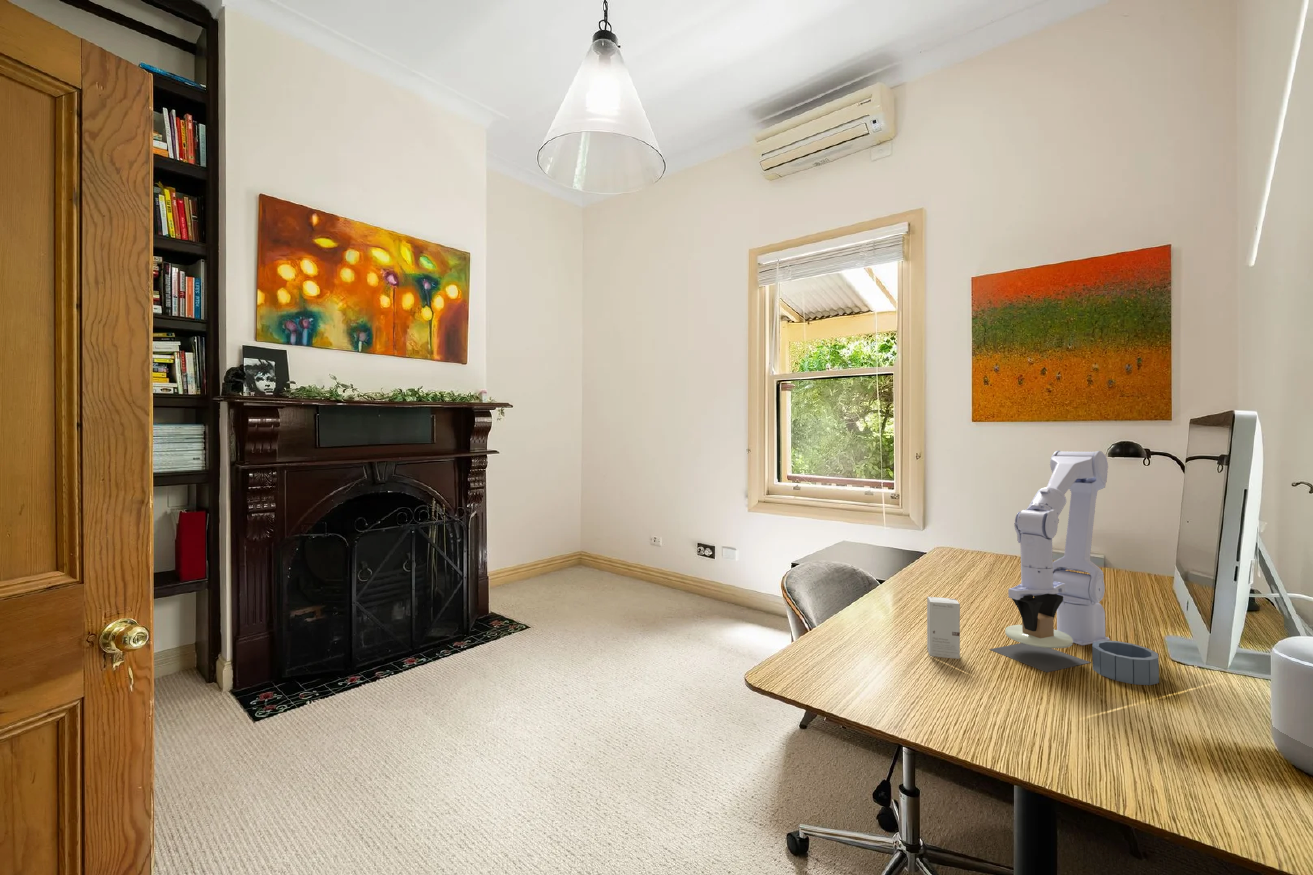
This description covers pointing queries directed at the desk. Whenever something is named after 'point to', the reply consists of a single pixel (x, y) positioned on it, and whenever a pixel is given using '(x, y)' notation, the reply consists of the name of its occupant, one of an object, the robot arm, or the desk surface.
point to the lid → (1040, 634)
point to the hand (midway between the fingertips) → (1037, 628)
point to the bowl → (1125, 662)
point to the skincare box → (943, 627)
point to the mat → (1040, 657)
